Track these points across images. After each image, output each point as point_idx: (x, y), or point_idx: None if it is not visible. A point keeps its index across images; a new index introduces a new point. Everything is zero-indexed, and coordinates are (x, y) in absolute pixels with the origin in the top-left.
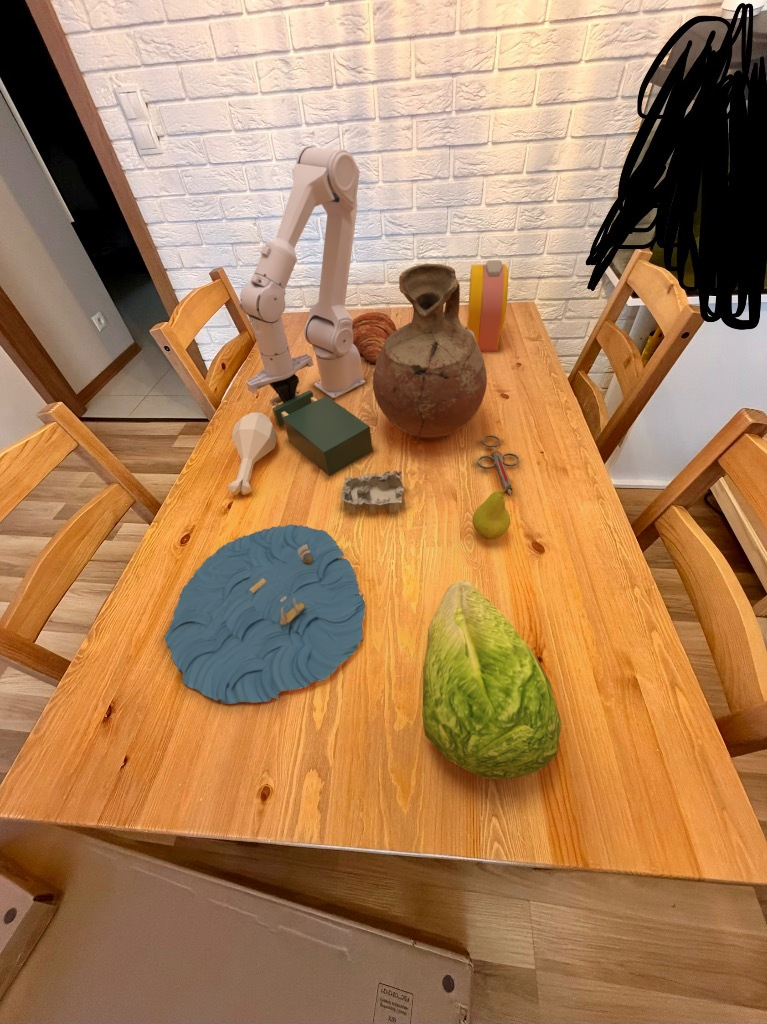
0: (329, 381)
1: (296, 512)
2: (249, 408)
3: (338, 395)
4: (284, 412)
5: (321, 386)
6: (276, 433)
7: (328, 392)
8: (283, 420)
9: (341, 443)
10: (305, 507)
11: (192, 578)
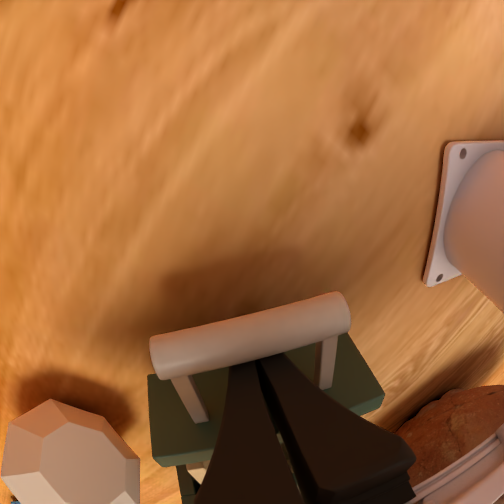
0: (479, 286)
1: (140, 499)
2: (30, 121)
3: (442, 281)
4: (200, 472)
5: (455, 191)
6: (139, 466)
7: (440, 251)
8: (182, 499)
9: None
10: (155, 498)
11: (17, 502)
